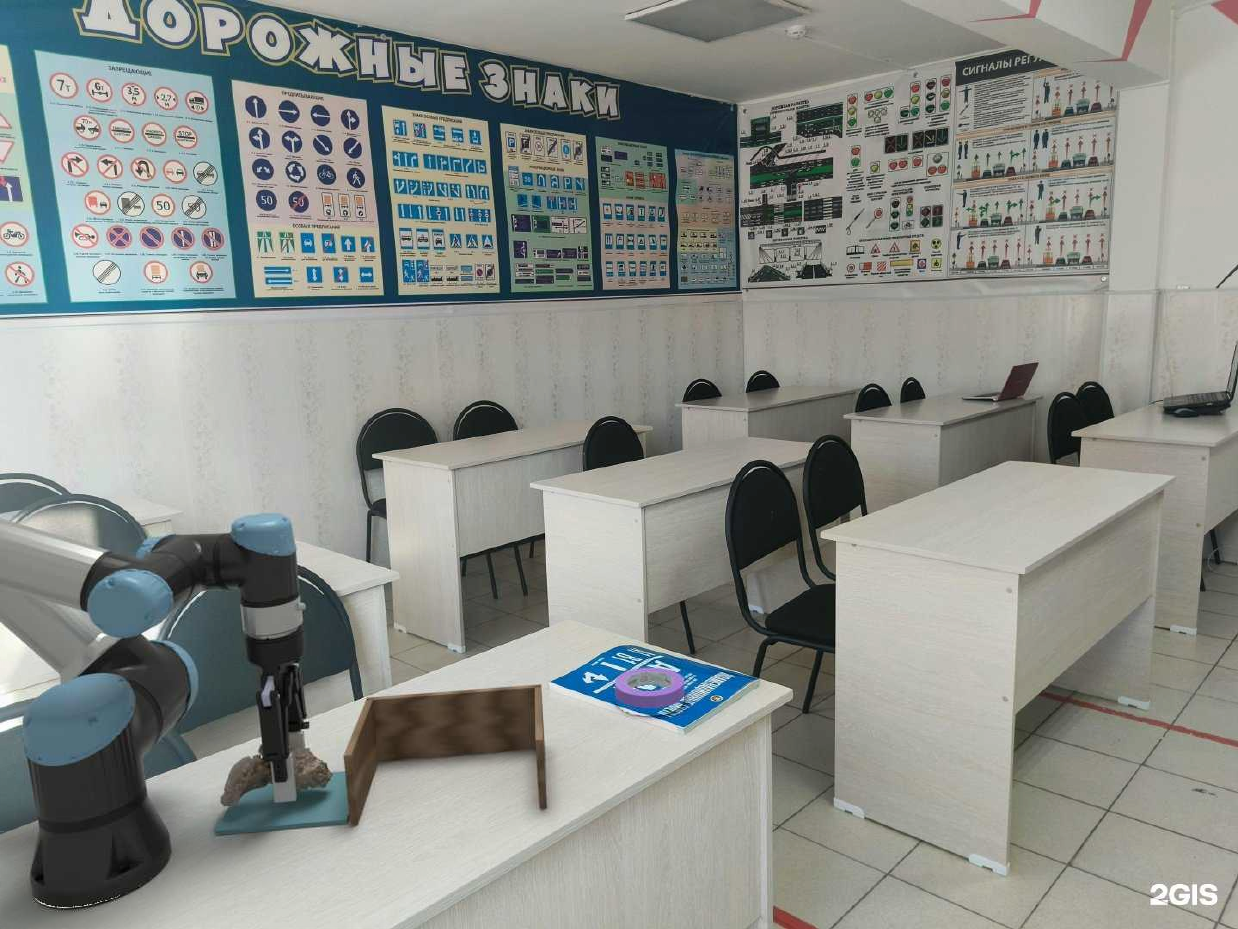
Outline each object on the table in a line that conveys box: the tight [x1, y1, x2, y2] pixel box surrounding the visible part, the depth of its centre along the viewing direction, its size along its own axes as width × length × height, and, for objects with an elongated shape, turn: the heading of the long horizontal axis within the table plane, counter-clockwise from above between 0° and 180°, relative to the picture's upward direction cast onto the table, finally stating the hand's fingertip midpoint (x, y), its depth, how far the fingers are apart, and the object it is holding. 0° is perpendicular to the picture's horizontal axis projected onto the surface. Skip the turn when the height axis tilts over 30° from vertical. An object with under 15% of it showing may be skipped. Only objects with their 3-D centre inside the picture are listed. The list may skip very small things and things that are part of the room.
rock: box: [220, 743, 333, 807], centre depth 124 cm, size 6×14×7 cm, turn 100°
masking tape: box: [614, 667, 685, 708], centre depth 153 cm, size 12×12×4 cm
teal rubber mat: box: [214, 770, 350, 835], centre depth 126 cm, size 17×13×1 cm
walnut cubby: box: [342, 683, 548, 826], centre depth 128 cm, size 26×18×10 cm
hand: (292, 787), depth 125 cm, fingers closed on rock, 6 cm apart
